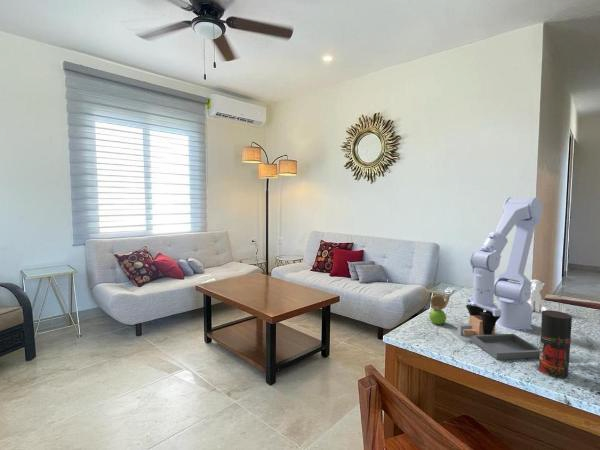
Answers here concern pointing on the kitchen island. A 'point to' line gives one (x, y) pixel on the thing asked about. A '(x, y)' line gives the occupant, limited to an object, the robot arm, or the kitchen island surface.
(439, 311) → the green base glass goblet
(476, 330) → the orange hollow square box
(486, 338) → the tray
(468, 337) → the slate board
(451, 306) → the kitchen island surface
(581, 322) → the kitchen island surface
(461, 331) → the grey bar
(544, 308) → the white creature statuette
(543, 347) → the deodorant
